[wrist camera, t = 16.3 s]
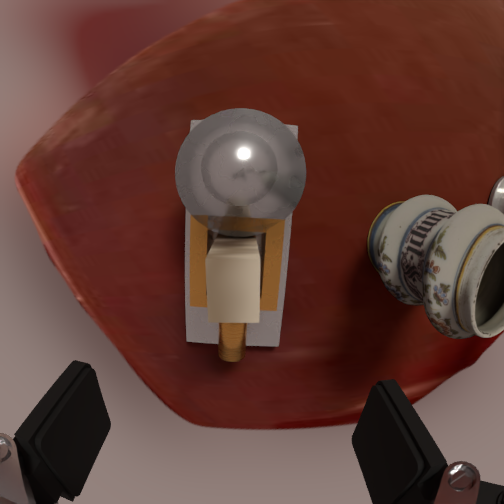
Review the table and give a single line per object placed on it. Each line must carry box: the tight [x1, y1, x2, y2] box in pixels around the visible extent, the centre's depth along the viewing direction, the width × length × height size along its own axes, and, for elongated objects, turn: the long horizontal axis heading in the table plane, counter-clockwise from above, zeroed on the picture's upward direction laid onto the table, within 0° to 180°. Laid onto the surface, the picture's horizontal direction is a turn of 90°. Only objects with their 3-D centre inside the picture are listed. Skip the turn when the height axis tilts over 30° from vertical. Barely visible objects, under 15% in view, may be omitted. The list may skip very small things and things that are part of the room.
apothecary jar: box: [368, 195, 504, 339], centre depth 24 cm, size 12×12×18 cm
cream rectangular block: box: [205, 233, 260, 323], centre depth 25 cm, size 4×4×12 cm
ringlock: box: [175, 108, 306, 362], centre depth 26 cm, size 11×25×13 cm, turn 176°
